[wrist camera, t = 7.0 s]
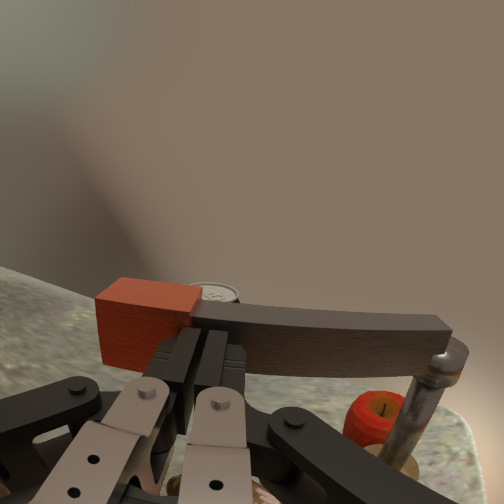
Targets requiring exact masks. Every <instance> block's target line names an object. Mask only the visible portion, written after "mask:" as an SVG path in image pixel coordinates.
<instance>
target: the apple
mask: <svg viewBox="0 0 504 504" xmlns="http://www.w3.org/2000/svg"><path fill="white" fill-rule="evenodd" d="M404 399H405V398H404V397H403V396H401V395H399V394H396V393H392V392H388V391H368V392H366V393H364V394H362V395H360V396H359V397H358V398H357V399H356V400H355V401H354V402H353V403H352V405H351V407H350V408H349V410H348V412H347V414H346V418H345V423H344V428H343V435H344V436H345V437H347V438H348V439H350V440H351V441H353V442H354V443H356V444H357V445H359V446H360V447H362V448H364V447H367V446H369V445H374V444H384V442H385V440H386V438H387V436H388V434H389V432H390V430H391V428H392V426H393V424H394V421H395V419H396V417H397V415H398V413H399V410H400V408H401V406H402V404H403V401H404Z"/></svg>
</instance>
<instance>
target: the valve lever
mask: <svg viewBox="0 0 504 504" xmlns="http://www.w3.org/2000/svg"><path fill="white" fill-rule="evenodd" d="M202 292H203V287H199V286H190V285H181V284H172V283H164V282H156V281H148V280H140V279H132V278H124V277H121V278H120V279H118V280H117V281H116V282H114V283H113V284H112V285H111V286H109V287H108V288H107V289H105V290H104V291H103V292H102V293H100V294H99V295H98V296H96V297H95V308H96V318H97V327H98V335H99V342H100V349H101V356H102V362H103V364H104V365H108V366H112V367H117V368H121V369H126V370H131V371H136V372H141V373H144V371H145V370H146V368H147V366H148V364H149V362H150V360H151V358H152V356H153V355H154V353H155V352H156V349H157V347H158V345H159V343H160V342H162V341H163V340H165V339H166V338H168V337H171V338H178V336H179V334H180V332H181V330H182V328H183V327H190V328H199V329H202V354H203V350H204V347H205V343H206V340H207V336H208V333H209V330H218V331H228V344H232V345H241V346H242V348H243V349H244V351H245V352H246V366H245V373H251V374H263V375H278V376H296V377H327V378H361V377H362V378H367V377H397V376H413V377H414V378H415V379H417V380H418V381H420V382H421V383H423V384H426V385H428V386H432V387H436V388H447V387H451V386H453V385H455V384H456V383H457V381H458V379H459V377H460V374H461V372H462V370H463V367H464V365H465V362H466V360H467V357H468V355H469V350H468V348H467V346H466V345H465V344H464V343H462V342H461V341H459V340H458V339H456V338H454V337H451V334H452V331H453V330H452V329H451V328H450V327H449V326H448V325H447V324H445V323H444V322H443V321H442V320H441V319H440V318H439V317H438V316H436V315H421V314H389V313H363V312H346V311H329V310H313V309H299V308H286V307H274V306H263V305H251V304H241V303H231V302H221V301H212V300H203V299H202Z"/></svg>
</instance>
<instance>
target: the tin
mask: <svg viewBox="0 0 504 504" xmlns="http://www.w3.org/2000/svg"><path fill="white" fill-rule="evenodd" d="M181 477H182V474H180V475H179V476H174V477H172V478H171V479H169V480H168V482H167V495H168V496H179V491H180V484H181ZM251 481H252V496H253V504H281V503H280V502H279V501H278V500H277V499H276V498H275V497H274V496H273V495H272V494H271V493H270V492H269V491H268V490H267V489H266V488H265V487H263V486H262V485H260V484H258V483H256V482H255V481H253V480H251Z"/></svg>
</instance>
